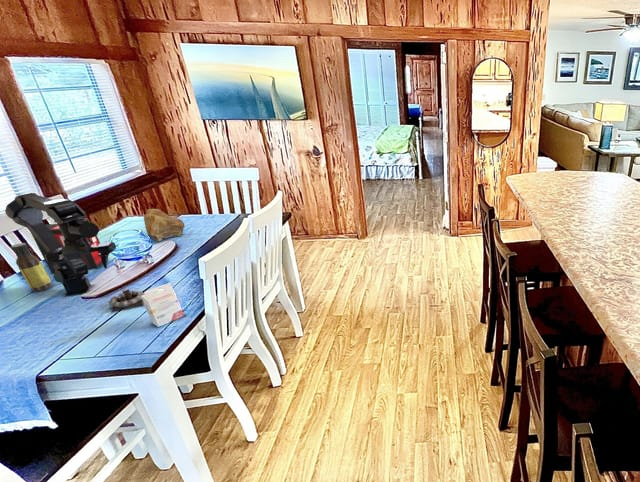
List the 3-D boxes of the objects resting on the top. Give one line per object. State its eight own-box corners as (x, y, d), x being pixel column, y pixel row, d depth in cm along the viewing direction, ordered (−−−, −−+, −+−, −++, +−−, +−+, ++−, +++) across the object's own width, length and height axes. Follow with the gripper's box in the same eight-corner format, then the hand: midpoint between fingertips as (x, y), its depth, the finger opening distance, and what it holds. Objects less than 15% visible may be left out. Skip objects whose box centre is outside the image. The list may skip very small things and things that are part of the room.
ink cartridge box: (178, 312, 147) (165, 278, 141) (184, 316, 145) (172, 282, 139) (151, 323, 141) (137, 288, 134) (157, 327, 138) (143, 292, 132)
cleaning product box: (51, 273, 172) (30, 232, 163) (63, 264, 179) (44, 224, 171) (97, 268, 177) (79, 228, 168) (107, 260, 184) (90, 221, 176)
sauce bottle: (57, 284, 164) (35, 241, 155) (43, 292, 158) (19, 248, 150) (41, 284, 163) (19, 241, 155) (26, 292, 158) (2, 248, 149)
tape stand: (112, 311, 147) (106, 297, 144) (119, 299, 154) (113, 286, 152) (142, 305, 151) (137, 292, 148) (147, 294, 158) (142, 281, 155)
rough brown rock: (187, 241, 207) (181, 214, 202) (146, 246, 198) (140, 218, 192) (186, 229, 224) (181, 204, 219) (149, 232, 215) (142, 206, 210)
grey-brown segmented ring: (106, 310, 145) (104, 306, 144) (114, 297, 154) (113, 293, 153) (141, 304, 150) (139, 299, 149) (147, 291, 158) (145, 287, 157)
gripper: (29, 246, 134) (49, 285, 140) (99, 237, 142) (115, 274, 148) (43, 235, 143) (61, 272, 149) (108, 227, 150) (123, 262, 157)
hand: (90, 270), depth 151 cm, fingers open, 9 cm apart
